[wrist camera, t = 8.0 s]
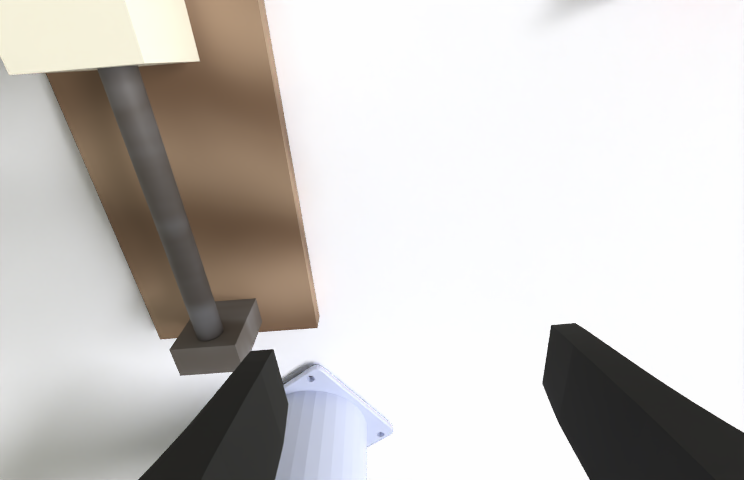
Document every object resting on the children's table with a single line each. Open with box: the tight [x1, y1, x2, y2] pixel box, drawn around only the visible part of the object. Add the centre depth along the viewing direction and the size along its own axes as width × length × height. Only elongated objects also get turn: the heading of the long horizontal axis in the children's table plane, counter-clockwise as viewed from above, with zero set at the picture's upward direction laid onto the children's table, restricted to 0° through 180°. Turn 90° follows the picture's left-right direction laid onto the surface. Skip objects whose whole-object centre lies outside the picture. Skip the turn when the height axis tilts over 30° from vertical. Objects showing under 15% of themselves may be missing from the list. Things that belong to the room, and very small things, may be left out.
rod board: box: [46, 0, 319, 376], centre depth 14 cm, size 25×9×5 cm, turn 4°
